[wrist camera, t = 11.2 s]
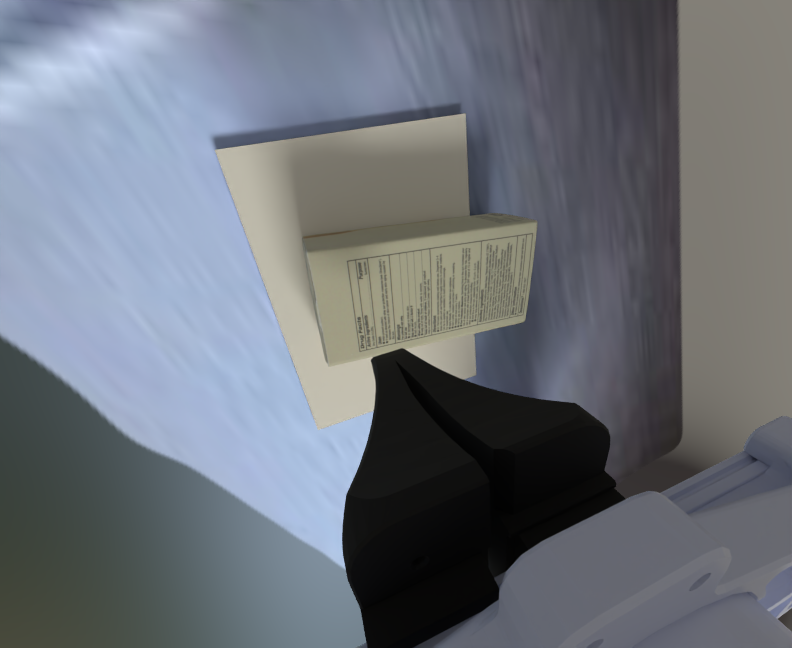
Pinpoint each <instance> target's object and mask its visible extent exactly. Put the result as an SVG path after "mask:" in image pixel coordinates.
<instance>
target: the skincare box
mask: <svg viewBox="0 0 792 648" xmlns="http://www.w3.org/2000/svg"><path fill="white" fill-rule="evenodd" d="M536 232H537V221H536V220H532V219H528V218H523V217H518V216H513V215H507V214H498V213H489V214H481V215H473V216H464V217H456V218H447V219H440V220H432V221H423V222H415V223H407V224H398V225H389V226H381V227H373V228H365V229H356V230H348V231H341V232H333V233H325V234H317V235H309V236H303V237H302V246H303V251H304V257H305V263H306V268H307V274H308V279H309V284H310V290H311V295H312V300H313V305H314V310H315V315H316V320H317V324H318V329H319V334H320V338H321V343H322V348H323V353H324V357H325V361H326V363H327V364H328V367H331V366H335V365H340V364H344V363H348V362H352V361H357V360H361V359H365V358H370V357H374V356H378V355H381V354H385V353H388V352H391V351H394V350H397V349H401V348H404V349H409V348H413V347H417V346H422V345H426V344H431V343H435V342H439V341H443V340H448V339H452V338H456V337H461V336H465V335H470V334H474V333H479V332H483V331H487V330H491V329H496V328H500V327H505V326H509V325H514V324H518V323H523V322H524V321H525V319H526V312H527V305H528V298H529V291H530V282H531V275H532V267H533V259H534V251H535V243H536Z"/></svg>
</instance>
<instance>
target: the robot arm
mask: <svg viewBox="0 0 792 648" xmlns="http://www.w3.org/2000/svg"><path fill="white" fill-rule="evenodd" d="M371 364H372V368H373V373H374V377H375V385H376V392H375V406H374V413H373V419H372V425H371V429H370V433H369V437H368V441H367V445H366V448H365V451H364V454H363V456H362V459H361V462H360V465H359V468H358V470H357V473H356V475H355V477H354V479H353V481H352V484H351V486H350V488H349V490H348V493H347V495H346V502H345V509H344V519H343V533H342V544H343V556H344V562H345V567H346V573H347V578H348V582H349V584H350V586H351V588H352V591H353V593H354V595H355V597H356V600H357V602H358V604H359V606H360V609H361V613H362V620H363V625H364V631H365V637H366V643H364V644H362V645H360V646H358V647H357V648H792V632H791V631H790V630H789V629H788V628H787V627H785V625H783V624H782V623H781V622H780V621H779V620H778V618H779V617H780V616H782V615H783V614H784V613H786V612H787V611H788V610H789V609H791V608H792V418H790V417H788V416H781V417H779V418H777V419H775V420H773V421H771V422H769V423H767V424H765V425H763V426H761V427H759V428H758V429H756V430H755V431H754V432H753V433H752V434H751V435H750V436H749V438H748V439H747V441H746V443H745V446H744V451H742V452H740V453H738V454H736V455H734V456H732V457H730V458H728V459H727V460H725V461H722V462H721V463H718V464H717V465H715V466H713V467H711V468H709V469H707V470H705V471H703V472H701V473H699V474H697V475H695V476H693V477H691V478H689V479H687V480H685V481H683V482H681V483H679V484H677V485H675V486H673V487H671V488H669V489H667V490H665V491H663V492H661V493H658V492H652V491H647V492H644V493H641V494H638V495H635V496H632V497H630V498H628V499H625V498H624V497H623V496H622V495H621V494H620V493H619V492H617V490H615V489H614V487H616V482H615V480H614V479H613V478H612V477H611V476H609V475H608V474H607V473H606V472H605V471H604V469H605V465H606V461H607V457H608V452H609V448H610V434H609V431H608V429H607V428H606V427H605V426H604V424H602V423H601V422H600V421H599V420H597V419H596V418H595V417H593V416H592V415H591V414H589V413H588V412H587V411H585V410H584V409H583V408H581V407H580V406H579V405H577V404H576V403H569V402H559V401H550V400H541V399H535V398H529V397H523V396H518V395H513V394H509V393H504V392H501V391H497V390H493V389H489V388H486V387H483V386H480V385H477V384H474V383H471V382H468V381H465V380H463V379H460V378H458V377H456V376H454V375H451V374H449V373H447V372H445V371H443V370H441V369H439V368H437V367H435V366H433V365H431V364H429V363H427V362H426V361H424V360H422V359H421V358H419V357H417V356H415V355H414V354H412V353H410V352H409V351H407V350H405V349H404V348H401V349H397V350H394V351H391V352H388V353H385V354H381V355H378V356H375V357H373V358H372V359H371Z"/></svg>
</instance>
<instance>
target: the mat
mask: <svg viewBox="0 0 792 648" xmlns="http://www.w3.org/2000/svg"><path fill="white" fill-rule="evenodd" d="M215 152H216V154H217V157H218V160H219V162H220V165H221V168H222V171H223V173H224V176H225V179H226V181H227V184H228V187H229V190H230V192H231V195H232V198H233V200H234V203H235V206H236V209H237V211H238V214H239V217H240V219H241V222H242V225H243V228H244V230H245V233H246V236H247V238H248V241H249V244H250V247H251V249H252V252H253V255H254V257H255V260H256V263H257V266H258V268H259V271H260V274H261V276H262V279H263V282H264V284H265V287H266V290H267V293H268V295H269V298H270V301H271V303H272V306H273V309H274V312H275V314H276V317H277V320H278V322H279V325H280V328H281V331H282V333H283V336H284V339H285V341H286V344H287V347H288V350H289V352H290V355H291V358H292V360H293V363H294V366H295V369H296V371H297V374H298V377H299V379H300V382H301V385H302V387H303V390H304V393H305V396H306V398H307V401H308V404H309V406H310V409H311V412H312V415H313V417H314V420H315V423H316V425H317V428H318V430H320V429H322V428H325V427H328V426H331V425H334V424H337V423H340V422H343V421H346V420H348V419H351V418H354V417H357V416H360V415H363V414H366V413H369V412H371V411H374V406H375V392H376V385H375V377H374V373H373V368H372V364H371V359H372V358H373V357H370V358H365V359H361V360H357V361H352V362H348V363H344V364H340V365H335V366H331V367H328V364H327V363H326V361H325V357H324V353H323V348H322V343H321V338H320V334H319V329H318V324H317V320H316V315H315V310H314V305H313V300H312V295H311V290H310V284H309V279H308V274H307V268H306V263H305V257H304V251H303V246H302V237H303V236H309V235H317V234H325V233H333V232H341V231H348V230H356V229H365V228H373V227H381V226H389V225H398V224H407V223H415V222H423V221H432V220H440V219H447V218H456V217H464V216H470V210H469V186H468V161H467V137H466V113H465V114H458V115H451V116H444V117H437V118H431V119H424V120H417V121H410V122H403V123H396V124H389V125H382V126H376V127H369V128H362V129H355V130H348V131H341V132H334V133H327V134H321V135H314V136H307V137H300V138H293V139H286V140H279V141H272V142H266V143H259V144H252V145H245V146H238V147H231V148H224V149H217V150H215ZM405 350H407V351H409V352H410V353H412V354H414V355H415V356H417V357H419V358H421V359H422V360H424V361H426V362H427V363H429V364H431V365H433V366H435V367H437V368H439V369H441V370H443V371H445V372H447V373H449V374H451V375H454V376H456V377H458V378H460V379H463V380H464V379H467V378H470V377H472V376H475V375H476V357H475V333H474V334H470V335H465V336H461V337H456V338H452V339H448V340H443V341H439V342H435V343H431V344H426V345H422V346H417V347H413V348H409V349H405ZM374 357H375V356H374Z"/></svg>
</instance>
